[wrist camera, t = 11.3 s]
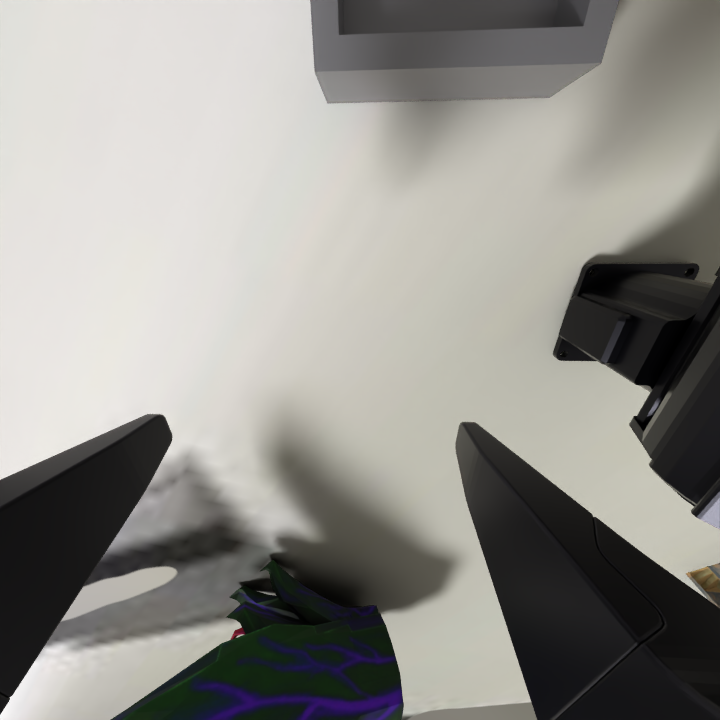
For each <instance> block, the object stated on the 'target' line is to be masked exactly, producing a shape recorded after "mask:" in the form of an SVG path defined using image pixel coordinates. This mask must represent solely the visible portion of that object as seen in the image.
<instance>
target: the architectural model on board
mask: <svg viewBox="0 0 720 720" xmlns="http://www.w3.org/2000/svg"><path fill="white" fill-rule="evenodd" d="M686 575H687V576H688V577H689V578H690V579H691V580H692V582H693V583H694V584H695V585H696V586H697V587H698V588H699V590H700V591H701V592H702V593H703V594H704V595H705V596H706V597H707V599H708V600H709V601H710V602H712V603H713V604H715V605H716V606H717V607H719V608H720V563H719V564H715V565H712V566H707V567H705V568H702V569H699V570H696V571H693V572H690V573H689V572H688V573H686Z"/></svg>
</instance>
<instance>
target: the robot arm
mask: <svg viewBox="0 0 720 720" xmlns="http://www.w3.org/2000/svg"><path fill="white" fill-rule="evenodd" d="M592 269H594V272H593V273H592V274H591V275H589V274H590V271H591V270H592ZM687 269H688V270H687ZM686 270H687V272H686V273H685V271H686ZM698 271H699V266H698V265H697V264H694V263H589V264H587V265H586V266H585V267H584V268H583V269H582V271H581V273H580V276H579V279H578V282H577V285H576V288H575V291H574V293H573V296H572V299H571V300H570V303H569V306H568V309H567V311H566V314H565V317H564V320H563V323H562V326H561V329H560V332H559V337H558V340H557V343H556V346H555V348H554V351H553V355H554V357H556V358H557V359H558V360H561V361H598V362H600V363H601V364H605V365H606V366H608V367H609V368H611V369H612V370H614V371H615V372H617V373H619V374H620V375H622V376H623V377H625V378H626V379H628V380H629V381H631V382H633V383H634V384H636V385H640V386H641V387H643V388H645V389H646V390H648V391H649V392H651V393H650V394H649V396H648V398H647V399H646V401H645V403H644V405H643V406H642V408H641V410H640V412H639V413H638V415H637V416H634V417H633V419H632V421H631V422H630V424H629V425H630V427H631V428H632V430H633V431H634V433H635V434H636V436H637V437H638V439H639V440H640V442H641V443H642V445H643V447H644V448H645V450H646V451H647V453H648V455H649V456H650V458H651V459H652V460H651V461H650V463H649V465H650V467H651V468H652V470H653V471H654V472H655V473H656V474H657V475H658V476H659V477H660V478H661V479H662V480H663V481H664V482H665V483H666V484H667V485H668V486H670V487H671V488H672V489H673V490H674V491H676V492H677V493H678V494H679V495H680V496H681V497H682V498H683V499H685V500H686V501H687V502H689V503H690V504H691V505H693V506H694V508H693V509H692V510H691V513H692V514H693V515H694V516H695V517H697V518H699V519H701V520H703V521H705V522H707V523H709V524H711V525H713V526H714V527H716V528H718V529H720V267H719V269H718V270H717V272H716V274H715V275H716V276H718V277H717V279H716V280H715V282H714V284H710V283H705V282H700V281H695V280H694V279H695V277H696V275H697V274H698ZM563 351H564V353H563V354H562V355H560V354H561V352H563ZM171 442H172V433H171V430H170V428H169V425H168V423H167V421H166V418H165V417H164V416H163V415H161V414H147V415H144V416H142V417H140V418H138V419H136V420H133V421H131V422H129V423H127V424H124V425H122V426H120V427H118V428H115V429H113V430H111V431H109V432H106V433H104V434H102V435H100V436H97V437H95V438H93V439H91V440H89V441H86V442H84V443H82V444H80V445H77V446H75V447H73V448H71V449H68V450H66V451H64V452H62V453H59V454H57V455H55V456H53V457H50V458H48V459H46V460H44V461H42V462H39V463H37V464H35V465H33V466H30V467H28V468H26V469H24V470H21V471H19V472H17V473H15V474H12V475H10V476H8V477H6V478H3V479H1V480H0V714H1V713H2V711H3V709H4V708H5V706H6V705H7V703H8V702H9V700H10V697H11V696H12V695H13V694H14V692H15V690H16V689H17V687H18V686H19V684H20V683H21V681H22V680H23V678H24V677H25V675H26V674H27V672H28V670H29V669H30V667H31V666H32V664H33V663H34V661H35V660H36V658H37V657H38V655H39V654H40V652H41V651H42V649H43V647H44V646H45V644H46V643H47V641H48V640H49V638H50V637H51V635H52V634H53V632H54V631H55V629H56V627H57V626H58V624H59V623H60V621H61V620H62V618H63V617H64V615H65V614H66V612H67V611H68V609H69V608H70V606H71V604H72V603H73V601H74V600H75V598H76V597H77V595H78V593H79V592H80V591H81V589H82V588H83V586H84V584H85V583H86V581H87V580H88V578H89V577H90V575H91V574H92V572H93V571H94V569H95V568H96V566H97V565H98V563H99V561H100V560H101V558H102V557H103V555H104V554H105V552H106V551H107V549H108V548H109V546H110V545H111V543H112V542H113V540H114V538H115V537H116V535H117V534H118V532H119V531H120V529H121V528H122V526H123V525H124V523H125V522H126V520H127V518H128V517H129V515H130V514H131V512H132V511H133V509H134V508H135V506H136V505H137V503H138V502H139V500H140V499H141V497H142V495H143V494H144V492H145V491H146V489H147V487H148V485H149V484H150V482H151V480H152V478H153V476H154V474H155V472H156V470H157V469H158V467H159V465H160V463H161V461H162V459H163V457H164V455H165V453H166V452H167V450H168V448H169V446H170V444H171ZM456 454H457V459H458V463H459V468H460V473H461V478H462V483H463V488H464V492H465V497H466V501H467V504H468V508H469V511H470V514H471V517H472V520H473V523H474V526H475V529H476V532H477V536H478V539H479V542H480V545H481V548H482V551H483V554H484V557H485V560H486V563H487V566H488V569H489V573H490V576H491V579H492V582H493V585H494V588H495V591H496V594H497V597H498V600H499V603H500V606H501V610H502V613H503V616H504V619H505V622H506V625H507V628H508V631H509V634H510V637H511V640H512V643H513V646H514V650H515V653H516V656H517V659H518V662H519V665H520V668H521V671H522V674H523V677H524V680H525V683H526V687H527V690H528V693H529V696H530V699H531V702H532V705H533V708H534V711H535V714H536V717H537V720H720V608H719V607H717V606H716V605H715V604H713V603H712V602H710V601H709V600H708V599H706V598H705V597H703V596H702V595H700V594H699V593H698V592H696V591H695V590H693V589H692V588H690V587H689V586H688V585H686V584H685V583H683V582H682V581H681V580H679V579H678V578H676V577H675V576H674V575H672V574H671V573H669V572H668V571H667V570H665V569H664V568H663V567H661V566H660V565H658V564H657V563H656V562H654V561H653V560H651V559H650V558H649V557H647V556H646V555H645V554H643V553H642V552H641V551H639V550H638V549H637V548H635V547H634V546H633V545H631V544H630V543H629V542H627V541H626V540H625V539H623V538H622V537H621V536H620V535H618V534H617V533H616V532H614V531H613V530H612V529H610V528H609V527H608V526H607V525H605V524H604V523H603V522H602V521H600V520H599V519H598V518H596V517H593V515H592V514H591V513H590V512H589V511H587V510H586V509H585V508H584V507H582V506H581V505H580V504H579V503H577V502H576V501H575V500H573V499H572V498H571V497H570V496H568V495H567V494H566V493H565V492H563V491H562V490H561V489H559V488H558V487H557V486H556V485H554V484H553V483H552V482H551V481H549V480H548V479H547V478H545V477H544V476H543V475H542V474H540V473H539V472H538V471H537V470H535V469H534V468H533V467H531V466H530V465H529V464H528V463H526V462H525V461H524V460H523V459H521V458H520V457H519V456H518V455H516V454H515V453H514V452H512V451H511V450H510V449H509V448H507V447H506V446H505V445H504V444H502V443H501V442H500V441H498V440H497V439H496V438H495V437H493V436H492V435H491V434H490V433H488V432H487V431H486V430H484V429H483V428H482V427H481V426H479V425H478V424H477V423H475V422H462V423H460V425H459V429H458V434H457V439H456Z"/></svg>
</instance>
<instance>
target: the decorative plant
mask: <svg viewBox="0 0 720 720" xmlns="http://www.w3.org/2000/svg"><path fill="white" fill-rule="evenodd" d="M263 570H267V571H269V574H270V579H271V584H272V587H273V589H274V591H275V593H276V595H277V596H273V595H267V594H264V593H261V592H257V591H254V590H252V589H250V588H249V587H247V586H245V585H244V586H242V587H241V588H240V589H238V590H237V591H236V592H235V593H234V594H233V595H231V596H230V598H233V599H235V600H237V601H238V602H240V604H241V605H240V606H238V607H237V608H236V609H235V610H234V611H233V612H231V613H230V614H229V615H228V616H227V618H231V619H235V620H237V621H238V622H240V624H241V626H242V628H240V629H237V630H235V631H234V634H233V636H232V638H231V640H229V641H227V642H224V643H222V644H220V645H219V646H217V647H216V648H214V649H213V650H211V651H210V652H209V653H207V654H206V655H204V656H203V657H201V658H200V659H198V660H197V661H196V662H194V663H193V664H191V665H190V666H188V667H187V668H186V669H184V670H183V671H181V672H180V673H178V674H177V675H175V676H174V677H173V678H171V679H170V680H168V681H167V682H165V683H164V684H162V685H161V686H160V687H158V688H157V689H155V690H154V691H152V692H151V693H149V694H148V695H147V696H145V697H144V698H142V699H141V700H139V701H138V702H137V703H135V704H134V705H132V706H131V707H129V708H128V709H126V710H125V711H123V712H122V713H120V714H119V715H117V716H116V717H114V718H112V719H111V720H401V719H402V714H403V707H404V704H403V697H402V687H401V678H400V672H399V668H398V664H397V661H396V657H395V653H394V650H393V646H392V643H391V640H390V637H389V634H388V631H387V628H386V625H385V623H384V621H383V619H382V617H381V615H380V613H378V609H377V606H375V605H371V606H364V607H342V606H340V605H337V604H335V603H333V602H331V601H329V600H327V599H325V598H324V597H322V596H320V595H319V594H317V593H315V592H314V591H312V590H310V589H309V588H307V587H305V586H304V585H302V584H301V583H300V582H298V581H297V580H296V579H295V578H293V577H292V576H291V575H289V574H288V573H287V572H286V571H284V570H283V569H282V568H281V567H280V566H279V565H278V564H277V563H276V562H275V561H274V560H272V561H271V562H270V563H269V564H268V565H266V566H265V567H264V568H263V569H262V570H261V571H263ZM240 634H244V635H243V636H240V637H237V636H238V635H240ZM236 637H237V638H236Z"/></svg>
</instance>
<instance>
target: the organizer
mask: <svg viewBox="0 0 720 720" xmlns="http://www.w3.org/2000/svg"><path fill="white" fill-rule="evenodd" d="M310 2H311V18H312V35H313V51H314V67H315V74H316V76H317V79H318V81H319V84H320V86H321V89H322V91H323V94H324V96H325V98H326V101H327V103H357V102H396V101H435V100H474V99H513V98H550V97H551V96H553V95H554V94H556V93H557V92H559V91H560V90H562V89H563V88H565V87H566V86H568V85H569V84H571V83H572V82H574V81H575V80H577V79H578V78H580V77H581V76H583V75H584V74H586V73H587V72H589V71H590V70H592V69H593V68H595V67H596V66H598V65H599V64H601V62H602V59H603V55H604V52H605V48H606V45H607V41H608V38H609V34H610V31H611V27H612V23H613V20H614V16H615V13H616V9H617V6H618V2H619V0H310Z"/></svg>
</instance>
